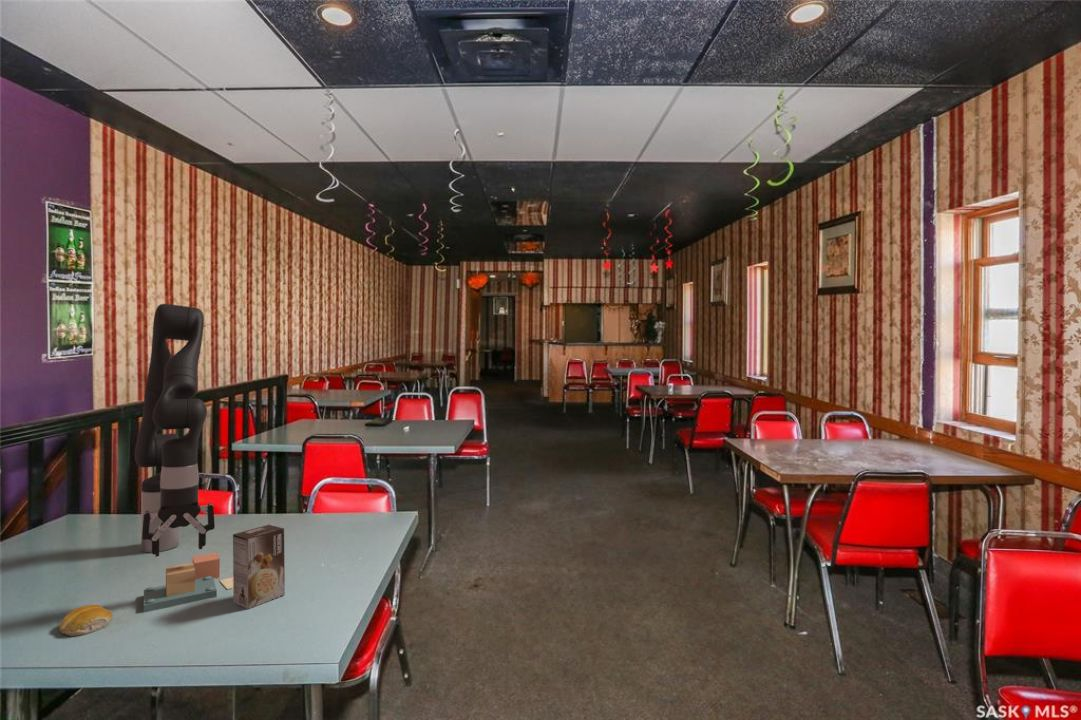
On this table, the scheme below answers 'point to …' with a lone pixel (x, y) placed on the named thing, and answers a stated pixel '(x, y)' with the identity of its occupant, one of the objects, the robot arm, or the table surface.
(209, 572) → the terracotta brick
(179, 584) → the oak brick
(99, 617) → the bread roll
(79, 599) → the table surface
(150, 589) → the board
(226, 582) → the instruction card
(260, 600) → the coffee box
